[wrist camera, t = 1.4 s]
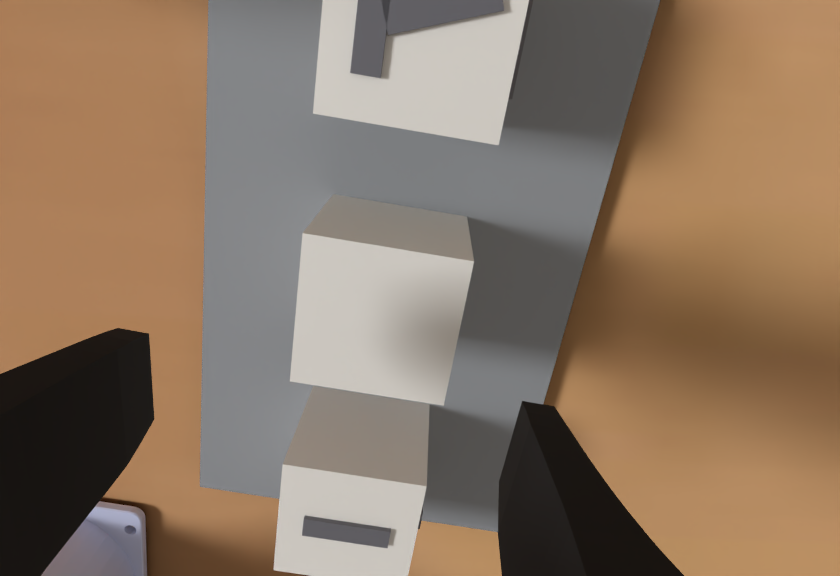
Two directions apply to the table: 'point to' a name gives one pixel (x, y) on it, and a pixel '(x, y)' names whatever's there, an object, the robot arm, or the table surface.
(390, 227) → the plain block
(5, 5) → the table surface
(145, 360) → the robot arm
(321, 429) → the block
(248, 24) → the slate mat
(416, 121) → the block
